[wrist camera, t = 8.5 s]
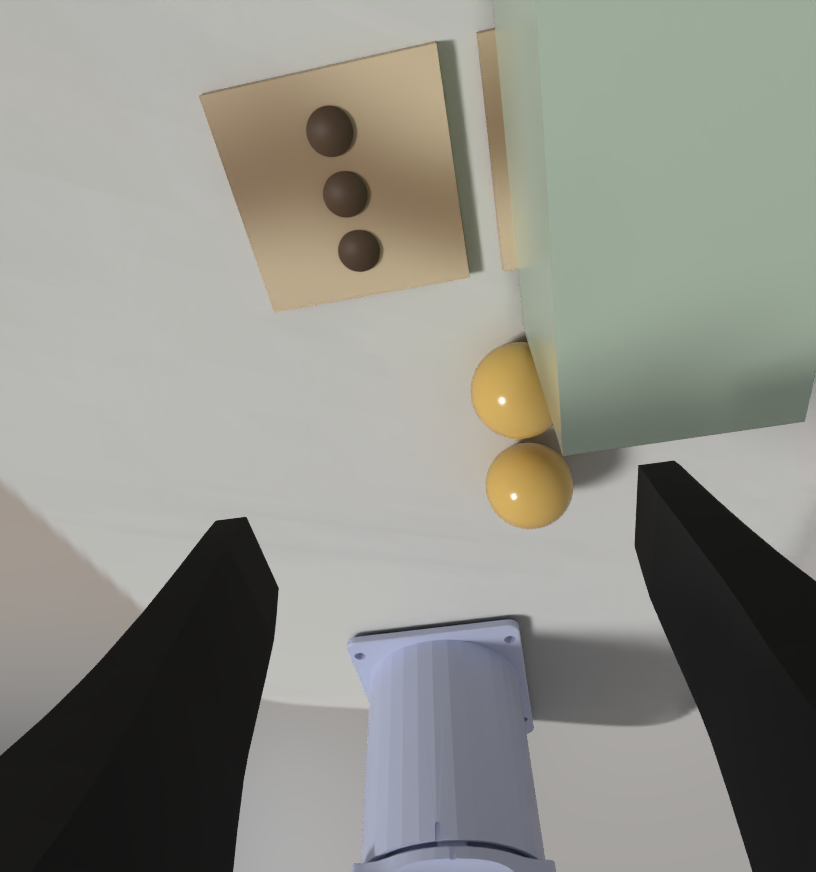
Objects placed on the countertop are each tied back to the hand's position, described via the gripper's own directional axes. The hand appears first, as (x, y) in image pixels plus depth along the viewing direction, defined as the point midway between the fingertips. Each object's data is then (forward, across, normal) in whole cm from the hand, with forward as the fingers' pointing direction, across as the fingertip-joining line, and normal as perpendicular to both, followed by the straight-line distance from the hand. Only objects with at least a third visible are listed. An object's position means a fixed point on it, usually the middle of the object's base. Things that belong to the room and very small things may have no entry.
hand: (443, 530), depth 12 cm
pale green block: (+9, -5, -4) cm, 11 cm away
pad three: (+10, +2, -4) cm, 11 cm away
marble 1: (+10, -2, +3) cm, 10 cm away
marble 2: (+10, -2, +7) cm, 12 cm away
